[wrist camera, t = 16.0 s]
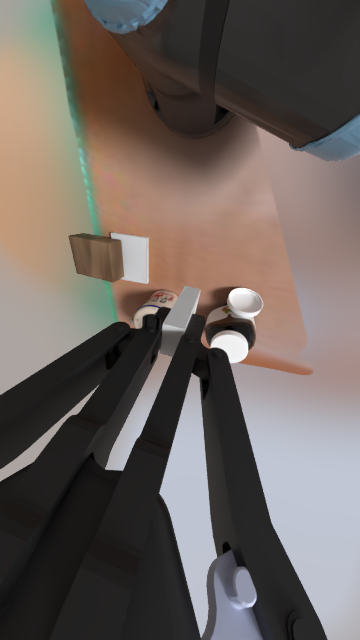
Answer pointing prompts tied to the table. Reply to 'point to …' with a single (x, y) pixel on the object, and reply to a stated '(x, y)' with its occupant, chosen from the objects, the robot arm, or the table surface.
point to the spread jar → (234, 324)
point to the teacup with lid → (153, 306)
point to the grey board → (134, 257)
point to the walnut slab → (97, 256)
